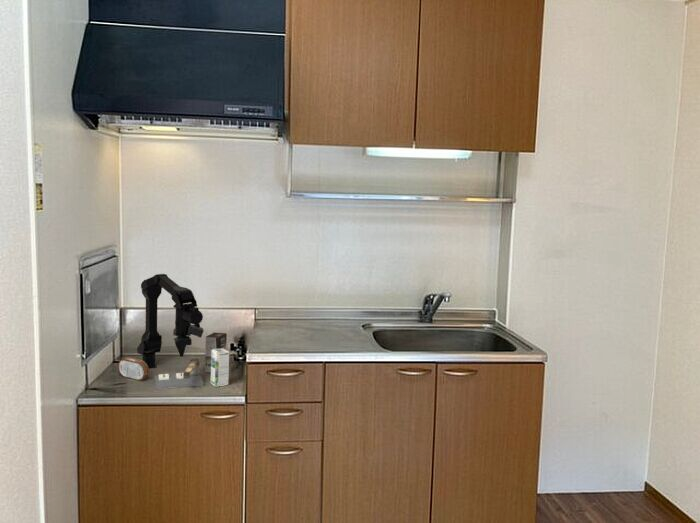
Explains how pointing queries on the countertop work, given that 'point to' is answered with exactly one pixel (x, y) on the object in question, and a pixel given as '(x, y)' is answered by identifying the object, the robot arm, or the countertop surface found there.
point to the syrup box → (219, 367)
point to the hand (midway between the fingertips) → (181, 356)
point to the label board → (178, 380)
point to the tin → (133, 368)
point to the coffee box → (213, 347)
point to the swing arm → (191, 368)
